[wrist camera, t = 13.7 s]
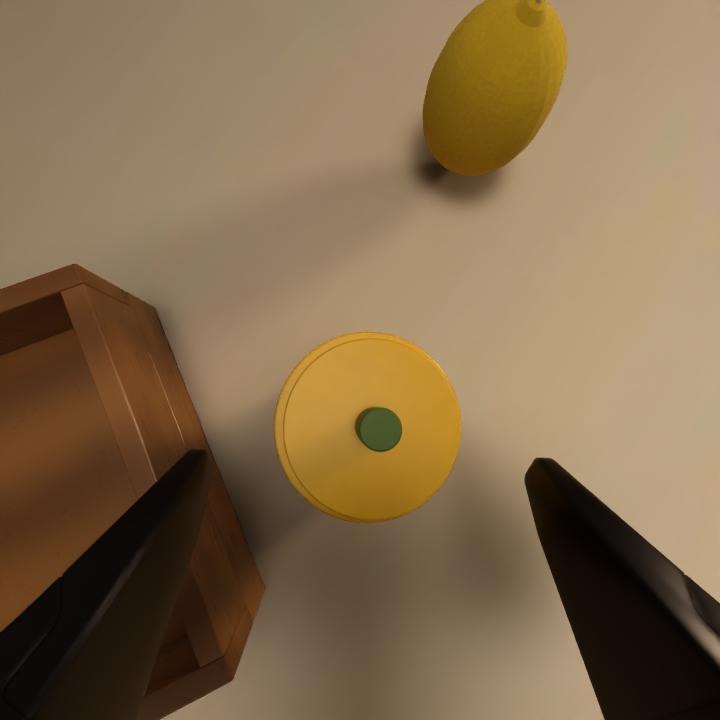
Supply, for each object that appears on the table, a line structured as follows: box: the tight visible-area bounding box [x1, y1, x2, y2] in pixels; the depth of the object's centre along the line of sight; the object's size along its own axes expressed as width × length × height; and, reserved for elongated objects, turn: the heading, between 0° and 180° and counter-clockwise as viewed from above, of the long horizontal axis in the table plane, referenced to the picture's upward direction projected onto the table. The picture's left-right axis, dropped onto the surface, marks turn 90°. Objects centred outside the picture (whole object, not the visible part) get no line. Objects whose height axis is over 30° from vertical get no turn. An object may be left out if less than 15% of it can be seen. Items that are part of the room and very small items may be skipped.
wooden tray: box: [0, 264, 265, 720], centre depth 13 cm, size 15×14×6 cm
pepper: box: [274, 332, 461, 523], centre depth 13 cm, size 6×6×9 cm
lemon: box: [423, 0, 567, 176], centre depth 16 cm, size 6×6×8 cm
